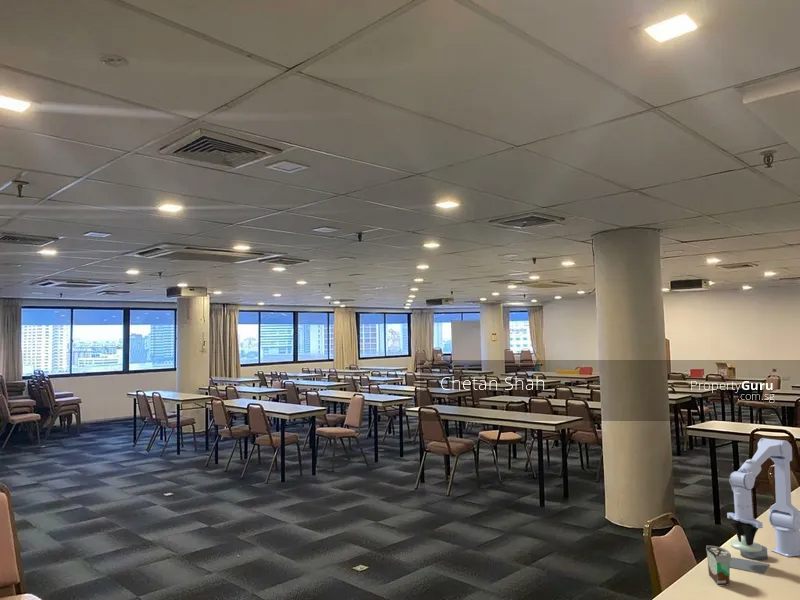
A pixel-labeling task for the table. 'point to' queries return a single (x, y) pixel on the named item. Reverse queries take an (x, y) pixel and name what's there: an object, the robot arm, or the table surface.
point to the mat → (748, 565)
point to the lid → (744, 546)
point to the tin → (755, 554)
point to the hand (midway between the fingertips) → (745, 543)
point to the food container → (718, 564)
